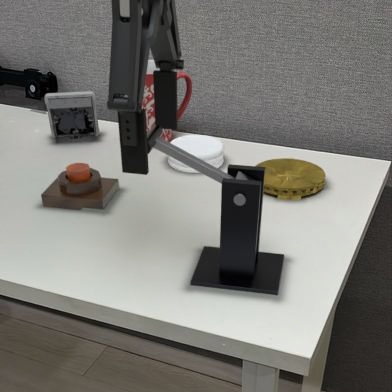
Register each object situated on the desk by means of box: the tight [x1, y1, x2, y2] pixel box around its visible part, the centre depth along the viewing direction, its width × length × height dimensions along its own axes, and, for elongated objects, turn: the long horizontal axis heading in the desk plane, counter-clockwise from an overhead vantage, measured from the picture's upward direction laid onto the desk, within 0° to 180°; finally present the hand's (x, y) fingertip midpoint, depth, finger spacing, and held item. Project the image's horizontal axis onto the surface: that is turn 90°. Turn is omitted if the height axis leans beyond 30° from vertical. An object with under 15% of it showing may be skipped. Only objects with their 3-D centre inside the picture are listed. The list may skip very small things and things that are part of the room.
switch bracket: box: [189, 164, 285, 296], centre depth 69 cm, size 11×9×14 cm
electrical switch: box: [44, 90, 100, 143], centre depth 107 cm, size 9×5×9 cm, turn 99°
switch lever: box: [147, 125, 256, 185], centre depth 65 cm, size 14×6×2 cm, turn 78°
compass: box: [255, 157, 326, 201], centre depth 94 cm, size 12×12×2 cm
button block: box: [40, 167, 120, 211], centre depth 89 cm, size 10×8×4 cm
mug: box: [142, 59, 193, 143], centre depth 106 cm, size 13×9×14 cm
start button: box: [65, 162, 91, 182], centre depth 88 cm, size 4×4×2 cm
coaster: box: [167, 134, 225, 174], centre depth 100 cm, size 10×10×4 cm
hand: (152, 148), depth 65 cm, fingers open, 13 cm apart
